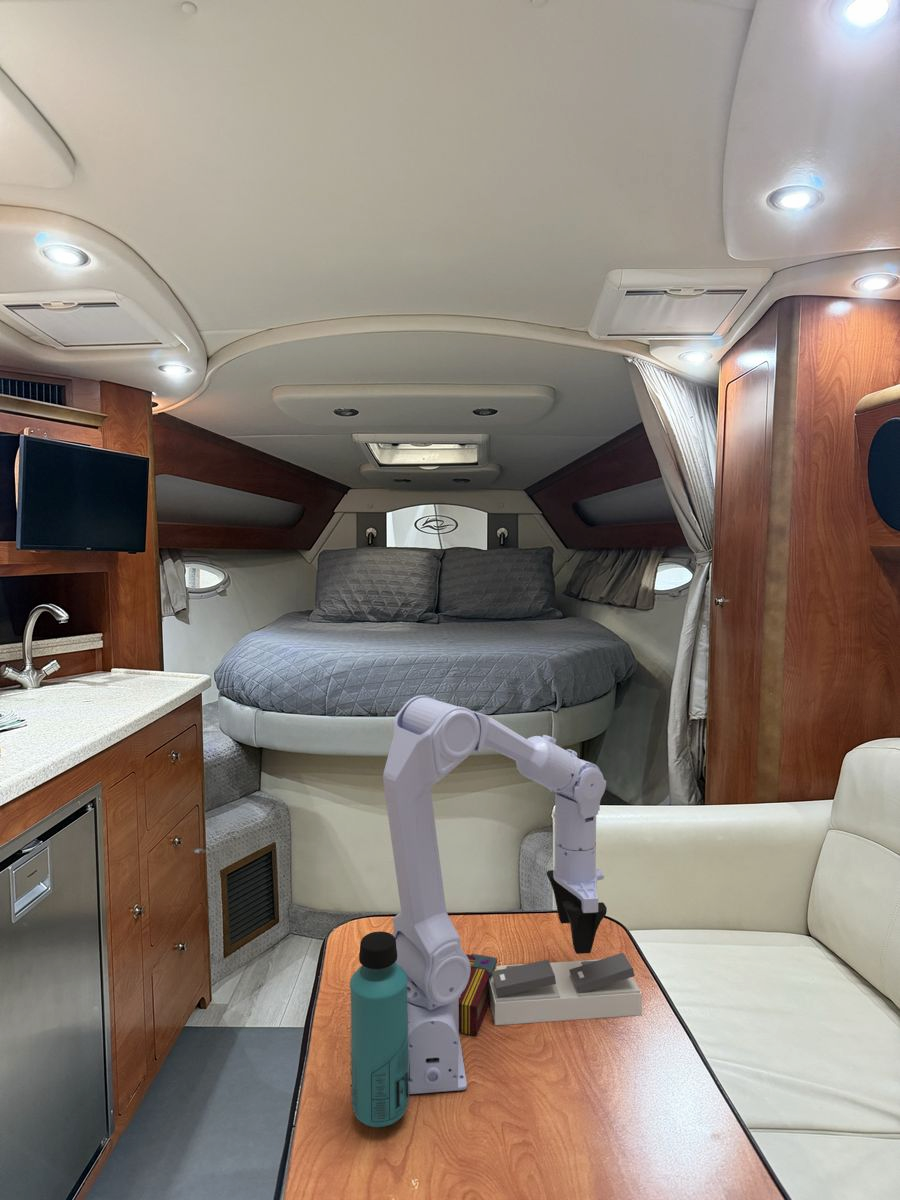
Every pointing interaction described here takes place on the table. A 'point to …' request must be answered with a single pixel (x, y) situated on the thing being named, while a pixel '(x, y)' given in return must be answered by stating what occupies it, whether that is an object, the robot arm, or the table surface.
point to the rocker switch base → (564, 999)
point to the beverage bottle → (379, 1033)
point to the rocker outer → (601, 973)
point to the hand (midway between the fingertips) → (574, 936)
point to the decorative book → (475, 994)
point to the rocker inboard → (523, 977)
